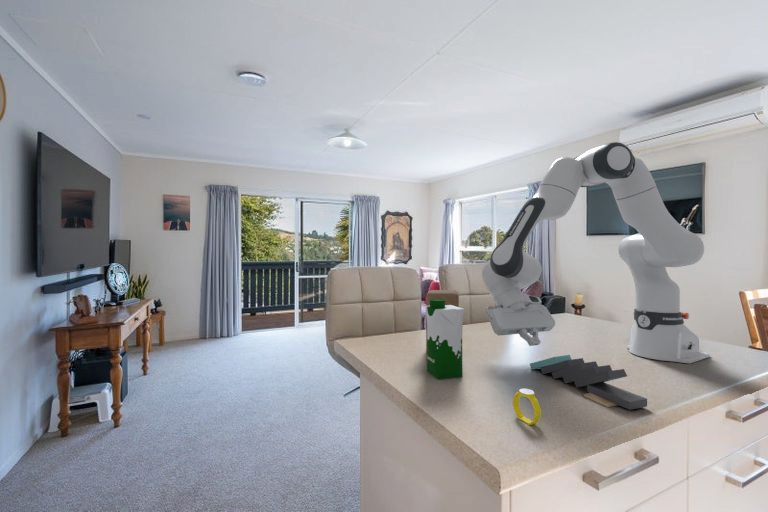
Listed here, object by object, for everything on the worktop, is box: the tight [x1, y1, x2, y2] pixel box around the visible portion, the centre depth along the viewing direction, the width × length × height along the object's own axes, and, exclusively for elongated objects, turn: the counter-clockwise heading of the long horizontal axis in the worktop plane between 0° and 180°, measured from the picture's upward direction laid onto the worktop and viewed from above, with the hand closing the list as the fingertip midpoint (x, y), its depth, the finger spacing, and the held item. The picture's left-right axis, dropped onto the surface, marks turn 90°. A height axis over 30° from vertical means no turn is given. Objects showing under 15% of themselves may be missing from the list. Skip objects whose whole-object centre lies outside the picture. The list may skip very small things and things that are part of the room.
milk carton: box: [425, 299, 465, 380], centre depth 96 cm, size 9×9×20 cm
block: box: [425, 289, 460, 354], centre depth 116 cm, size 10×10×20 cm
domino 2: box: [540, 357, 585, 375], centre depth 92 cm, size 2×5×10 cm
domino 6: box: [586, 382, 648, 411], centre depth 78 cm, size 2×5×10 cm
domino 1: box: [529, 354, 572, 370], centre depth 96 cm, size 2×5×10 cm
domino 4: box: [562, 364, 613, 384], centre depth 85 cm, size 2×5×10 cm
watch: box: [512, 388, 542, 426], centre depth 69 cm, size 6×3×6 cm, turn 22°
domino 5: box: [573, 368, 628, 388], centre depth 82 cm, size 2×5×10 cm
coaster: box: [583, 392, 619, 408], centre depth 79 cm, size 9×6×1 cm, turn 109°
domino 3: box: [551, 361, 599, 380], centre depth 89 cm, size 2×5×10 cm
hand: (535, 344), depth 101 cm, fingers closed
